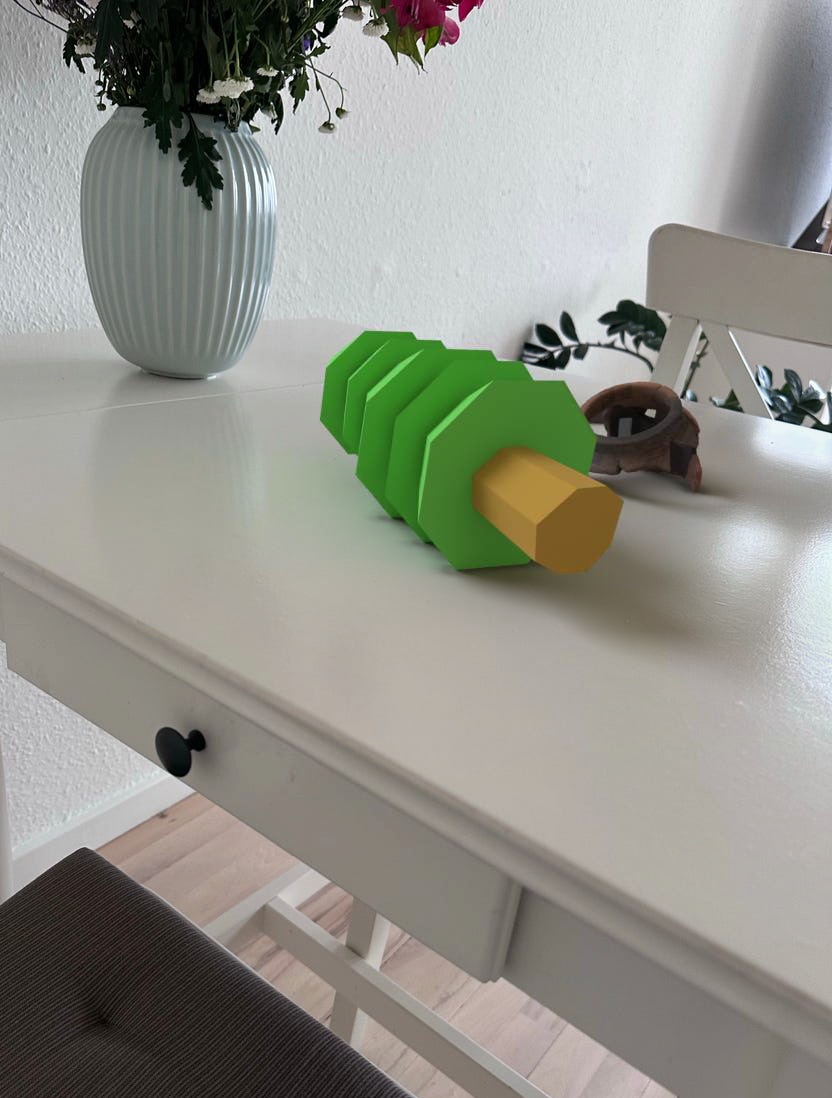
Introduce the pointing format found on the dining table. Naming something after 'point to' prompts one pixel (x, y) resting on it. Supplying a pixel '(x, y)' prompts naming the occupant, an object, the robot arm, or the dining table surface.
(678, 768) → the dining table surface
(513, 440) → the decorative tree
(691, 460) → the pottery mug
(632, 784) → the dining table surface
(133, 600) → the dining table surface
